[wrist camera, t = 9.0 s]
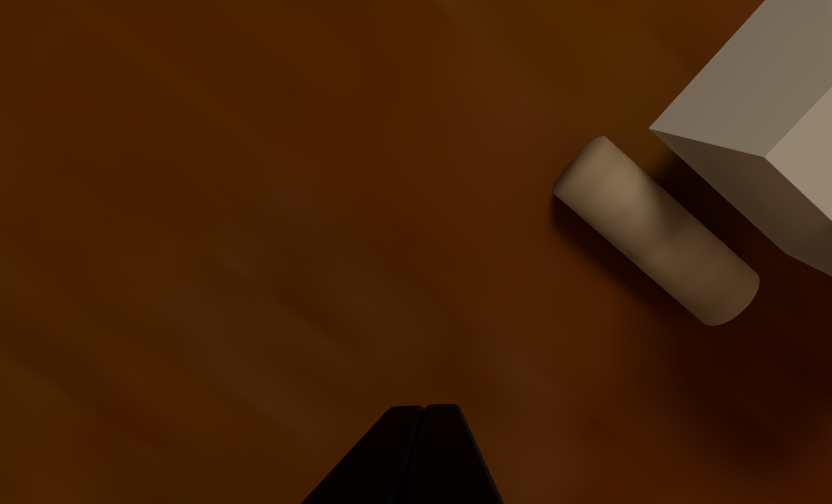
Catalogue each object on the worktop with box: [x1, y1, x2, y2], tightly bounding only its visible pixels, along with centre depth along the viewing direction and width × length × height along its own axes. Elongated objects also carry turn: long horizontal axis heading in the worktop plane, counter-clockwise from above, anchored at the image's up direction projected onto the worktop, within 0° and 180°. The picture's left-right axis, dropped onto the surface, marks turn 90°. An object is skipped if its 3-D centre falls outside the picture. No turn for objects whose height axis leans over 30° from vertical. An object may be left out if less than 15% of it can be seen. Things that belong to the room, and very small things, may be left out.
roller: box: [552, 136, 760, 326], centre depth 20 cm, size 6×2×2 cm, turn 50°
